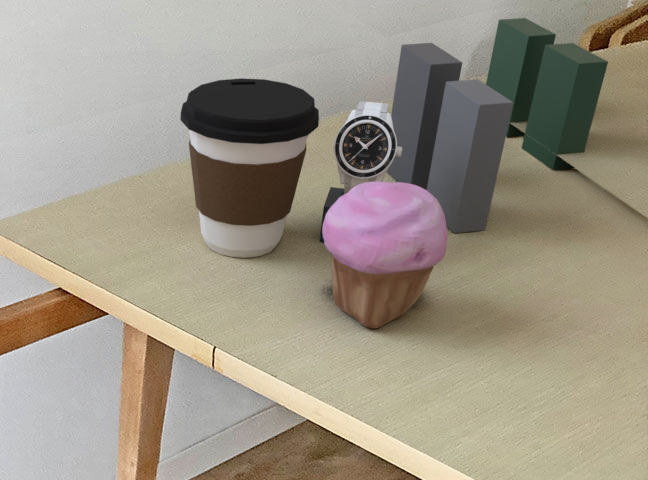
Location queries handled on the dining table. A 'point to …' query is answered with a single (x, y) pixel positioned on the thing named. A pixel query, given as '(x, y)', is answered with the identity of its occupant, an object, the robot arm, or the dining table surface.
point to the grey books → (448, 134)
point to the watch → (363, 150)
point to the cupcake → (383, 248)
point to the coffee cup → (246, 159)
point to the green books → (546, 89)
